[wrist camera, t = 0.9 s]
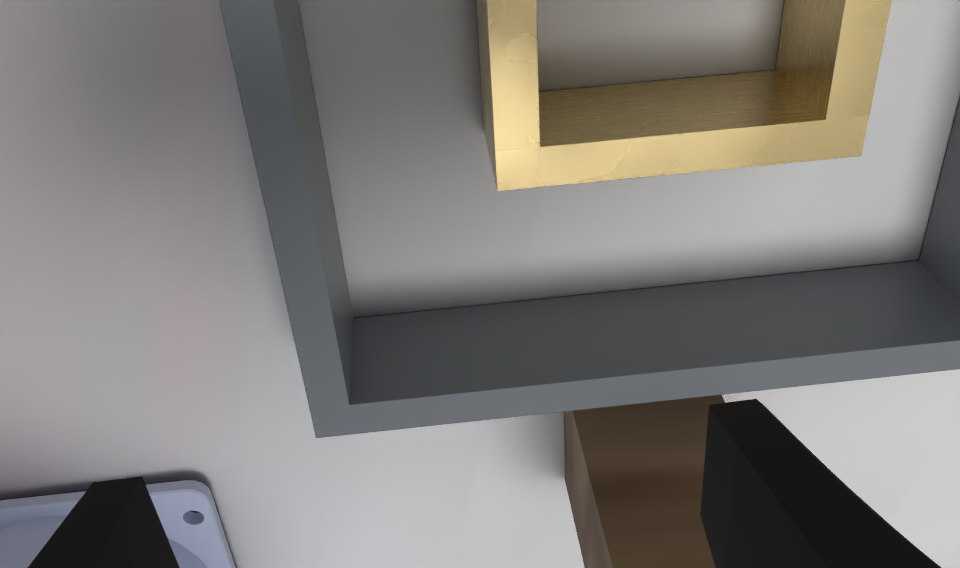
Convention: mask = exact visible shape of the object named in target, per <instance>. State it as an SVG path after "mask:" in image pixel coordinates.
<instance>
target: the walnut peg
mask: <svg viewBox="0 0 960 568" xmlns="http://www.w3.org/2000/svg"><path fill="white" fill-rule="evenodd" d="M720 403H725V402H724V400H723V397H722V395H713V396H703V397H694V398H685V399H675V400H666V401H657V402H647V403H638V404H629V405H619V406H610V407H601V408H591V409H582V410H573V411H564V434H565V482H566V486H567V491H568V495H569V500H570V504H571V509H572V513H573V517H574V522H575V526H576V531H577V535H578V540H579V544H580V548H581V553H582V557H583V562H584V566H585V568H716V567H715V564H714V561H713V558H712V554H711V551H710V547H709V544H708V540H707V537H706V533H705V530H704V526H703V523H702V519H701V516H700V512H701V499H702V487H703V474H704V461H705V449H706V436H707V423H708V411H709V405H712V404H720Z"/></svg>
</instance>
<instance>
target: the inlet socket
mask: <svg viewBox="0 0 960 568" xmlns="http://www.w3.org/2000/svg"><path fill="white" fill-rule="evenodd" d="M891 1H892V0H785V2H784V10H783V18H782V25H781V33H780V41H779V49H778V56H777V64H776V70H770V71H759V72H748V73H737V74H726V75H716V76H705V77H694V78H683V79H672V80H661V81H651V82H640V83H629V84H618V85H607V86H597V87H586V88H575V89H564V90H553V91H543V92H538V52H537V12H536V0H476V5H477V21H478V37H479V53H480V69H481V85H482V101H483V118H484V134H485V138H486V143H487V147H488V151H489V156H490V160H491V165H492V169H493V174H494V178H495V182H496V187H497V191H503V190H514V189H524V188H534V187H545V186H555V185H565V184H576V183H586V182H596V181H607V180H617V179H627V178H638V177H648V176H658V175H669V174H679V173H689V172H699V171H710V170H720V169H730V168H741V167H751V166H761V165H772V164H782V163H792V162H803V161H813V160H823V159H834V158H844V157H854V156H861V154H862V149H863V144H864V139H865V134H866V129H867V124H868V119H869V113H870V108H871V103H872V98H873V93H874V88H875V83H876V78H877V72H878V67H879V62H880V57H881V52H882V47H883V42H884V37H885V31H886V26H887V21H888V16H889V11H890V6H891Z"/></svg>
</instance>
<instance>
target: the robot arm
mask: <svg viewBox="0 0 960 568" xmlns="http://www.w3.org/2000/svg"><path fill="white" fill-rule="evenodd" d="M191 511H198V512H200V513H193V512H191ZM700 516H701V519H702V523H703V526H704V530H705V533H706V537H707V540H708V544H709V547H710V551H711V554H712V558H713V561H714V564H715V567H716V568H941V567H940V566H939V565H937V564H936V563H935V562H934V561H932V560H931V559H930V558H929V557H927V556H926V555H925V554H924V553H923V552H921V551H920V550H919V549H918V548H917V547H915V546H914V545H913V544H912V543H911V542H909V541H908V540H907V539H906V538H905V537H904V536H902V535H901V534H900V533H899V532H898V531H897V530H895V529H894V528H893V527H892V526H891V525H890V524H889V523H887V522H886V521H885V520H884V519H883V518H882V517H881V516H880V515H879V514H877V513H876V512H875V511H874V510H873V509H872V508H871V507H870V506H868V505H867V504H866V503H865V502H864V501H863V500H862V499H861V498H859V497H858V496H857V495H856V494H855V493H854V492H853V491H852V490H851V489H850V488H848V487H847V486H846V485H845V484H844V483H843V482H842V481H841V480H840V479H839V478H838V477H837V476H836V475H835V474H833V473H832V472H831V471H830V470H829V469H828V468H827V467H826V466H825V465H824V464H823V463H822V462H821V461H820V460H819V459H818V458H817V457H816V456H815V455H814V454H813V453H812V452H811V451H810V450H809V449H807V448H806V447H805V446H804V445H803V444H802V443H801V442H800V441H799V440H798V439H797V438H796V437H795V436H794V435H793V434H792V433H791V432H790V431H789V430H788V429H787V428H786V427H785V426H784V425H783V424H782V423H781V422H780V421H779V420H778V419H777V418H776V417H775V416H774V415H773V414H772V413H771V412H770V411H769V410H768V409H767V408H766V407H765V406H764V405H763V404H762V403H760V402H759V401H758V400H757V399H752V400H744V401H736V402H728V403H720V404H712V405H709V411H708V423H707V436H706V449H705V461H704V474H703V487H702V499H701V512H700ZM0 568H236V567H235V564H234V561H233V558H232V555H231V552H230V549H229V546H228V543H227V540H226V537H225V533H224V530H223V527H222V524H221V521H220V518H219V515H218V512H217V509H216V506H215V503H214V500H213V497H212V494H211V491H210V490H209V488H208V487H207V486H206V485H204V484H203V483H201V482H198V481H195V480H184V481H175V482H166V483H157V484H147V485H145V482H144V480H143V478H142V477H134V478H126V479H118V480H110V481H102V482H94V483H93V484H92V485H91V486H90V487H89V489H88V490H87V491H83V492H74V493H65V494H55V495H46V496H37V497H28V498H19V499H9V500H0Z"/></svg>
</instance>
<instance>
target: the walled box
mask: <svg viewBox="0 0 960 568" xmlns="http://www.w3.org/2000/svg"><path fill="white" fill-rule="evenodd" d="M219 2H220V7H221V11H222V16H223V20H224V25H225V29H226V34H227V38H228V43H229V47H230V52H231V57H232V61H233V66H234V70H235V75H236V79H237V84H238V88H239V93H240V97H241V102H242V106H243V111H244V115H245V120H246V124H247V129H248V133H249V138H250V142H251V147H252V151H253V156H254V160H255V165H256V169H257V174H258V178H259V183H260V187H261V192H262V196H263V201H264V205H265V210H266V214H267V219H268V223H269V228H270V232H271V237H272V241H273V246H274V250H275V255H276V259H277V264H278V268H279V273H280V277H281V282H282V286H283V291H284V295H285V300H286V304H287V309H288V313H289V318H290V322H291V327H292V331H293V336H294V341H295V345H296V350H297V354H298V359H299V363H300V368H301V372H302V377H303V381H304V386H305V390H306V395H307V399H308V404H309V408H310V413H311V417H312V422H313V426H314V431H315V435H316V438H321V437H331V436H340V435H349V434H358V433H368V432H377V431H386V430H396V429H405V428H414V427H424V426H433V425H442V424H452V423H461V422H470V421H480V420H489V419H498V418H508V417H517V416H526V415H536V414H545V413H554V412H563V411H573V410H582V409H591V408H601V407H610V406H619V405H629V404H638V403H647V402H657V401H666V400H675V399H685V398H694V397H703V396H713V395H722V394H731V393H741V392H750V391H759V390H768V389H778V388H787V387H796V386H806V385H815V384H824V383H834V382H843V381H852V380H862V379H871V378H880V377H890V376H899V375H908V374H918V373H927V372H936V371H946V370H955V369H960V101H959V104H958V108H957V112H956V116H955V120H954V124H953V128H952V132H951V136H950V140H949V144H948V148H947V152H946V156H945V160H944V164H943V168H942V172H941V176H940V180H939V184H938V187H937V191H936V195H935V199H934V203H933V207H932V211H931V215H930V219H929V223H928V227H927V231H926V235H925V239H924V243H923V247H922V251H921V255H920V259H919V261H910V262H901V263H891V264H881V265H871V266H861V267H852V268H842V269H832V270H822V271H812V272H803V273H793V274H783V275H773V276H763V277H754V278H744V279H734V280H724V281H714V282H705V283H695V284H685V285H675V286H665V287H656V288H646V289H636V290H626V291H616V292H607V293H597V294H587V295H577V296H567V297H558V298H548V299H538V300H528V301H518V302H509V303H499V304H489V305H479V306H469V307H460V308H450V309H440V310H430V311H420V312H411V313H401V314H391V315H381V316H371V317H362V318H353V316H352V310H351V304H350V298H349V293H348V287H347V281H346V275H345V269H344V264H343V258H342V252H341V246H340V240H339V235H338V229H337V223H336V217H335V212H334V206H333V200H332V194H331V188H330V183H329V177H328V171H327V165H326V159H325V154H324V148H323V142H322V136H321V131H320V125H319V119H318V113H317V107H316V102H315V96H314V90H313V84H312V79H311V73H310V67H309V61H308V55H307V50H306V44H305V38H304V32H303V26H302V21H301V15H300V9H299V3H298V0H219Z"/></svg>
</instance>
